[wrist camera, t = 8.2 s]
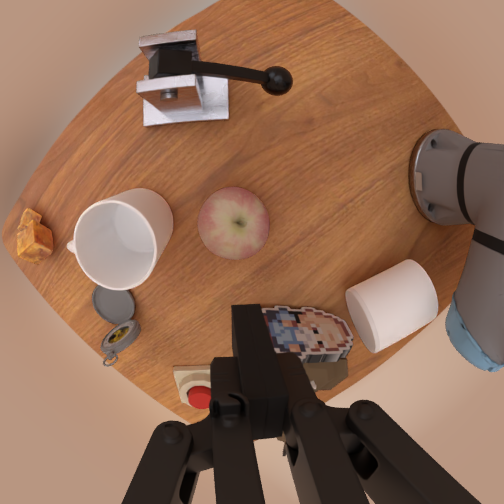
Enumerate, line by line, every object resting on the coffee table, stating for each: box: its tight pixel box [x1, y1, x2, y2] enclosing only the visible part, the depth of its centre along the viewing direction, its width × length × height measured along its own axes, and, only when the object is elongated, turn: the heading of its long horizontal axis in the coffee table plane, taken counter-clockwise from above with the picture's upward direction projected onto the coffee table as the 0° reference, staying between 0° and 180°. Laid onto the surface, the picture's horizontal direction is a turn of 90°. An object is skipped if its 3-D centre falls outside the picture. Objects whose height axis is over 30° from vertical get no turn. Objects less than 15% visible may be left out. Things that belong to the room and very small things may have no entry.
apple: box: [197, 187, 270, 260], centre depth 30 cm, size 8×8×8 cm
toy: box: [262, 306, 354, 364], centre depth 35 cm, size 14×2×10 cm, turn 81°
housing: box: [173, 365, 211, 407], centre depth 41 cm, size 8×8×3 cm
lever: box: [149, 49, 293, 96], centre depth 21 cm, size 14×3×3 cm, turn 91°
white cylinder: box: [345, 259, 438, 353], centre depth 36 cm, size 13×10×10 cm
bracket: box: [136, 30, 229, 127], centre depth 22 cm, size 10×7×14 cm, turn 91°
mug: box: [67, 188, 173, 290], centre depth 28 cm, size 9×12×11 cm
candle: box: [277, 358, 348, 442], centre depth 36 cm, size 14×14×15 cm
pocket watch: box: [92, 285, 141, 366], centre depth 32 cm, size 8×8×10 cm
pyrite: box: [17, 208, 54, 265], centre depth 29 cm, size 5×7×4 cm
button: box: [188, 386, 211, 409], centre depth 39 cm, size 4×4×2 cm
